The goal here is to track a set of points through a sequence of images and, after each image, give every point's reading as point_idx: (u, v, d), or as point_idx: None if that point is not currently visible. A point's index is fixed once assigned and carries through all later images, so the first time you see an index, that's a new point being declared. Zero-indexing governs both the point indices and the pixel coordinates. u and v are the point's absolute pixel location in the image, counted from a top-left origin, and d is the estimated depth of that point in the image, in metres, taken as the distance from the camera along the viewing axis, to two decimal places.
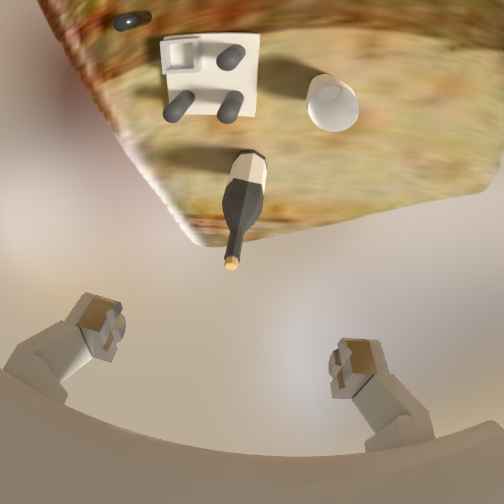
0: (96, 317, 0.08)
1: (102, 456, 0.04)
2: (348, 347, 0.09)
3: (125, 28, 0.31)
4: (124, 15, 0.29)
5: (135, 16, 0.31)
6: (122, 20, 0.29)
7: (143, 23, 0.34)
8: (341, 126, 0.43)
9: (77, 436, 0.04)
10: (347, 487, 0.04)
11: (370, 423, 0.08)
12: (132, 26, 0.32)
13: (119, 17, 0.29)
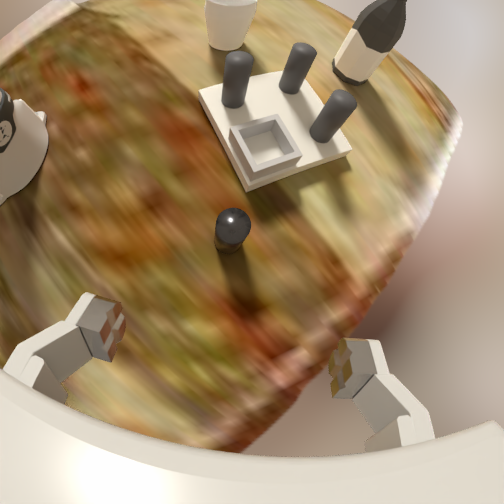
0: (96, 317, 0.08)
1: (102, 456, 0.04)
2: (348, 347, 0.09)
3: (242, 213, 0.28)
4: (217, 224, 0.27)
5: None
6: (228, 224, 0.27)
7: None
8: None
9: (77, 436, 0.04)
10: (347, 487, 0.04)
11: (370, 423, 0.08)
12: None
13: (223, 233, 0.27)
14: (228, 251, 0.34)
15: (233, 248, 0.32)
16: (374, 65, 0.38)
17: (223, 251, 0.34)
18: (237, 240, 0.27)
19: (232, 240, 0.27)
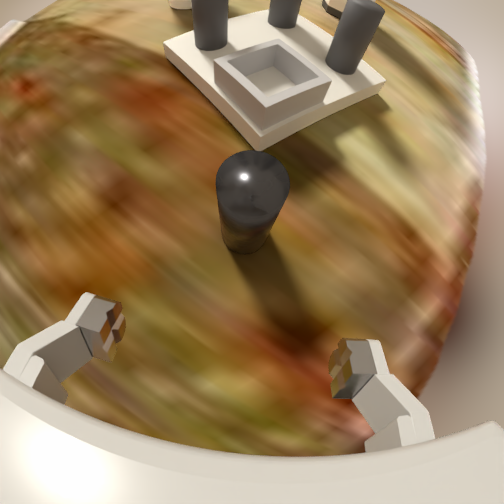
0: (96, 317, 0.08)
1: (102, 456, 0.04)
2: (348, 347, 0.09)
3: (266, 158, 0.13)
4: (220, 187, 0.13)
5: None
6: (242, 183, 0.13)
7: None
8: None
9: (77, 436, 0.04)
10: (347, 487, 0.04)
11: (370, 423, 0.08)
12: None
13: (236, 201, 0.12)
14: (250, 247, 0.19)
15: (259, 237, 0.17)
16: None
17: (241, 249, 0.20)
18: (268, 211, 0.12)
19: (257, 213, 0.12)
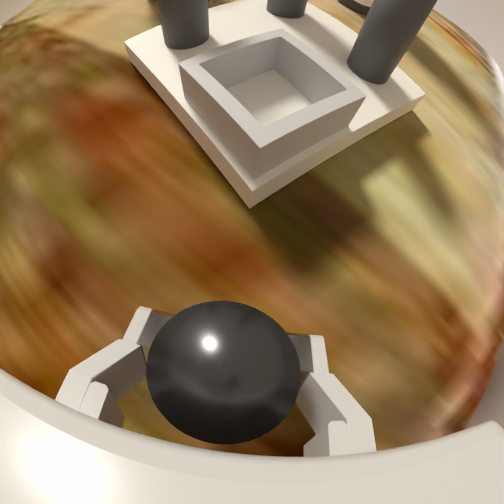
0: None
1: (102, 456, 0.04)
2: None
3: (253, 321, 0.06)
4: (156, 387, 0.05)
5: None
6: (199, 383, 0.06)
7: None
8: None
9: (77, 436, 0.04)
10: (347, 487, 0.04)
11: (312, 425, 0.08)
12: None
13: (189, 418, 0.05)
14: None
15: None
16: None
17: None
18: (253, 434, 0.05)
19: (232, 439, 0.05)
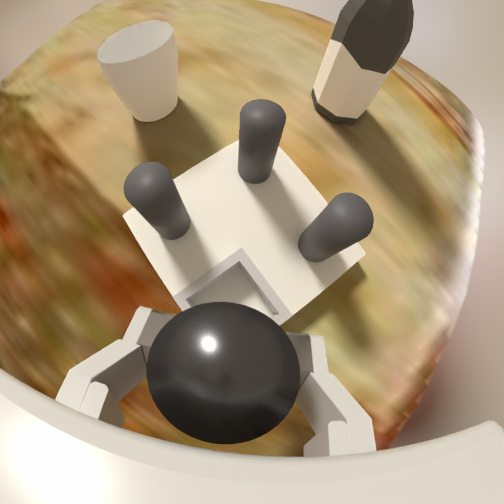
0: None
1: (102, 456, 0.04)
2: None
3: (253, 322, 0.06)
4: (157, 387, 0.06)
5: None
6: (199, 383, 0.06)
7: None
8: (159, 32, 0.23)
9: (77, 436, 0.04)
10: (347, 487, 0.04)
11: (312, 425, 0.08)
12: None
13: (190, 418, 0.05)
14: None
15: None
16: (375, 92, 0.27)
17: None
18: (253, 434, 0.05)
19: (232, 439, 0.05)
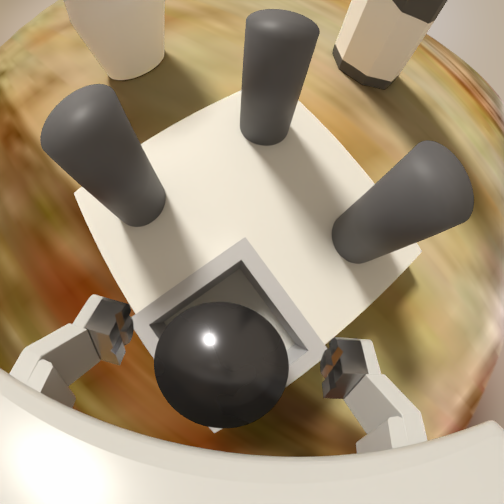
0: (105, 320, 0.08)
1: (102, 456, 0.04)
2: (339, 346, 0.09)
3: (247, 319, 0.07)
4: (163, 377, 0.06)
5: None
6: (200, 373, 0.06)
7: None
8: None
9: (77, 436, 0.04)
10: (347, 487, 0.04)
11: (362, 424, 0.08)
12: None
13: (191, 404, 0.06)
14: None
15: None
16: (414, 48, 0.17)
17: None
18: (248, 419, 0.06)
19: (229, 423, 0.06)
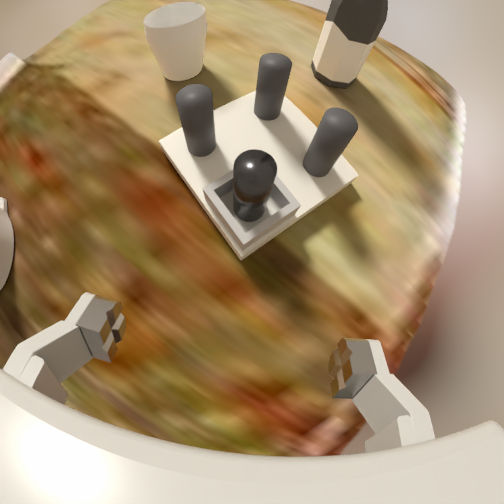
0: (96, 317, 0.08)
1: (102, 456, 0.04)
2: (348, 347, 0.09)
3: (263, 154, 0.22)
4: (236, 171, 0.21)
5: None
6: (249, 168, 0.21)
7: None
8: (191, 11, 0.28)
9: (77, 436, 0.04)
10: (347, 487, 0.04)
11: (370, 423, 0.08)
12: None
13: (245, 178, 0.21)
14: (253, 214, 0.27)
15: (259, 205, 0.25)
16: (361, 60, 0.32)
17: (247, 216, 0.28)
18: (264, 184, 0.21)
19: (258, 185, 0.21)
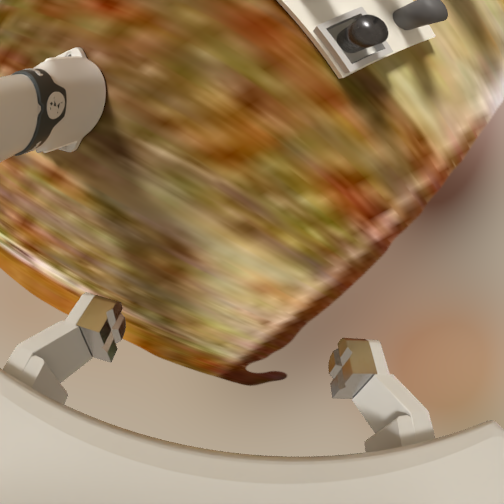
0: (96, 317, 0.08)
1: (102, 456, 0.04)
2: (348, 347, 0.09)
3: (378, 20, 0.17)
4: (358, 28, 0.18)
5: None
6: (368, 28, 0.18)
7: None
8: None
9: (77, 436, 0.04)
10: (347, 487, 0.04)
11: (370, 423, 0.08)
12: None
13: (366, 35, 0.19)
14: (357, 50, 0.24)
15: (365, 48, 0.23)
16: None
17: (350, 50, 0.25)
18: (379, 42, 0.19)
19: (375, 42, 0.19)
